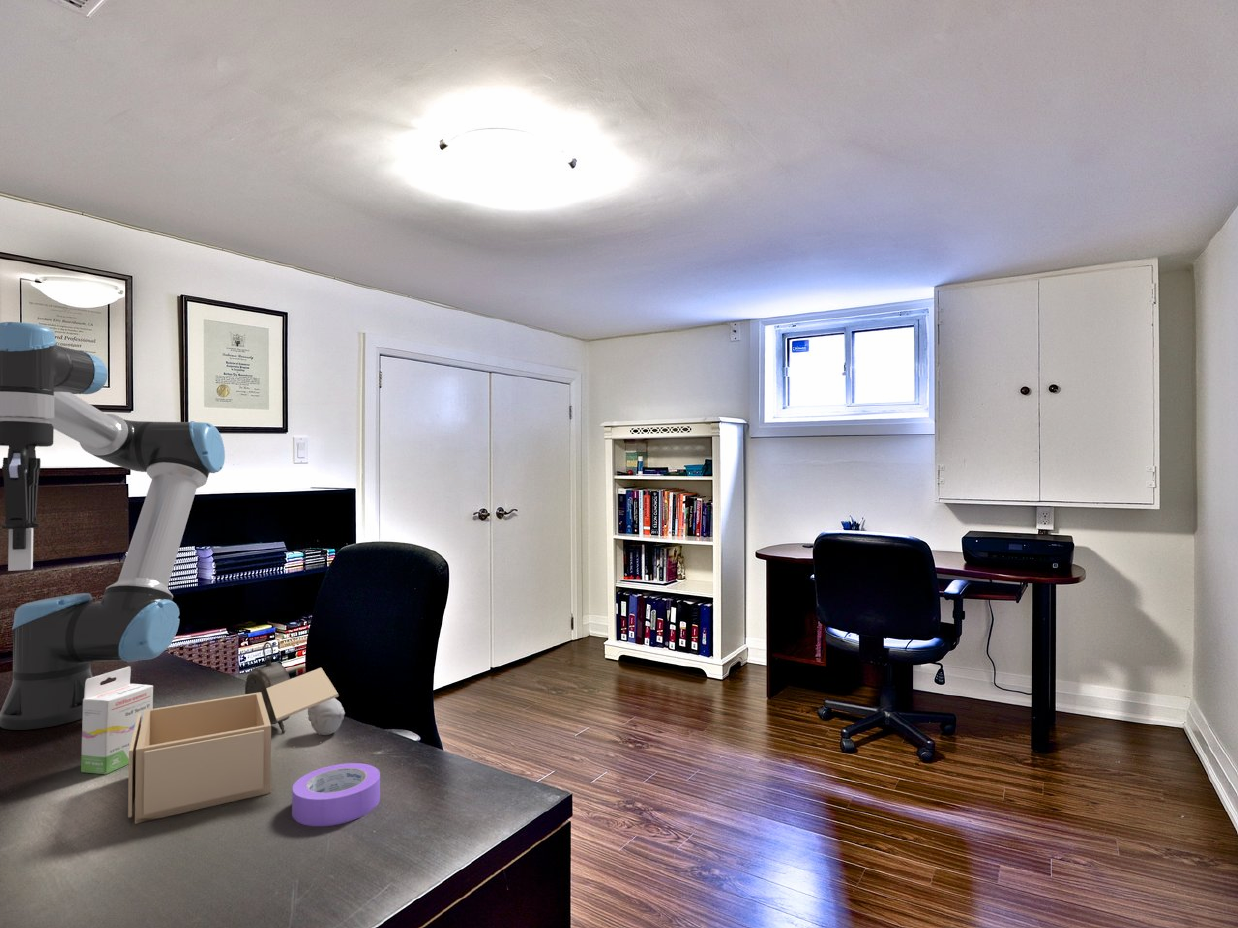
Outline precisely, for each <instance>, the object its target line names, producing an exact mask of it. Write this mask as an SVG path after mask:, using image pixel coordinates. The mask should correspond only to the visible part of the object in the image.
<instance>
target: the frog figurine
mask: <svg viewBox="0 0 1238 928" xmlns="http://www.w3.org/2000/svg"><path fill="white" fill-rule="evenodd" d="M345 714H346V712H345V709H344V707H343V705H342V703H341V702H340V701H339V700H338V699H337V697H335V698H333V699H330V700H328V701H325V702H323V703H320V704H318V705H316V706H313V707H311V708H308V709H307V715H308V718H307V719H308V721H309V722H310V725H311V727H312V729H313V730H314V731H315V733H317V734H319V735H321V736H328V735H331V734H333V733H335V732H336V731H338V730H339V729H340V727H341V724H342V722H343V720H344V719H345V718H344V717H345Z"/></svg>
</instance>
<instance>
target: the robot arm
mask: <svg viewBox="0 0 1238 928" xmlns="http://www.w3.org/2000/svg"><path fill="white" fill-rule="evenodd" d="M108 376H109V374H108V368H107V366H106V364H105V363H104V361H103V360H102V359H100V358H99V357H98V356H95V355H94V354H92V353H88V352H87V351H85V350H78V349H73V348H70V347H66V346H60V345H58V344H57V341H56V336H55V332H54V331H53V329H51V328H50V327H48V326H45V325H40V324H37V323H36V324H35V323H28V322H18V321H2V322H0V446H1V447H2V446H3V447H8V450H7V457H3V458H2V466H1V470H2V476H3V490H4V492H3V494H4V511H5V515H4V516H5V521H4V523H5V525H4V524H3V525H2V526H1V529H2V530H8V548H7V549H8V552H7V553H8V555H7V556H8V557H7V562H8V564H7V565H8V566H7V568H8V569H7V571H8V572H9V571H10V572H11V571H13V572H14V571H31V570H33V569H34V566H33V565H34V564H33V563H34V528H39V527H40V522H37V508H38V507H37V505H38V491H39V475H40V471H41V462H42V461H41V458H40V457H37V453H36V447H39V448H40V447H41V448H42V447H43V448H44V447H46V448H47V447H52V446H53V445H54V433H55V432H54V430H56V431H57V432H59V433H61V434H63V435H65V436H66V437H68V438H70V439H73V440H74V441H76V442H78V443H79V445H80V447H81V448H82V450H84V451H85V452H87V453H88V454H90V455H92V456H94V457H96V458H98V459H100V460H102V461H105V462H107V463H109V464H112V465H115V466H118V467H121V468H123V469H125V470H126V469H127V470H131V471H135V472H139V473H146V474H147V476H148V477H149V478H150V479H151V481H150V484H149V487H148V490H147V492H146V496H145V498H144V503H143V505H142V507H141V511H140V514H139V517H138V520H137V523H136V526H135V529H134V531H133V534H132V538H131V541H130V544H129V547H128V550H127V552H126V557H125V559H124V561H123V565H122V568H121V571H120V574H119V577H118V580H117V581H116V582H114V583H113V584H110V585H109V586H107V587H106V588H105V590H104V592H103V596H102V599H101V600H99V601H97V600H96V601H93V597H92V594H91V593H89V592H88V593H87V592H85V593H84V592H82V593H73V594H67V595H60V596H55V597H50V598H43V599H39V600H35V601H31V602H27V603H24V604H21V605H19V606H18V607H17V608H16V610H15V612H14V618H13V625H12V627H11V628H12V629H11V631H12V683H11V685H10V688H9V691H8V694H7V695H6V698H5V700H4V703H3V705H2V707H1V710H0V728H2V729H4V730H12V731H25V730H26V731H27V730H36V729H43V728H50V727H54V726H55V727H56V726H59V725H64V724H68V723H72V722H75V721H78V720H83V699H84V691H85V681H86V680H87V679H88V678H92V677H94V676H93V674H92V671H91V663H93V662H94V663H95V662H128V663H132V662H137V661H148V660H153V659H155V658H157V657H160V655H161V654H162V653H164V652H165V651H167V650H168V648H169V647H170V646H171V645H172V643H173V641H174V639H175V637H176V634H178V633H177V632H178V629H179V626H180V618H179V616H180V608H179V605H177V603H175V602H174V601H173V598H174V595H173V593H171V591H170V590H169V589H168V587H169V583H170V580H171V577H172V574H173V570H174V566H175V563H176V559H177V557H178V553H179V550H180V546H181V543H182V540H183V535H184V532H185V529H186V525H187V522H188V519H189V515H190V511H191V509H192V505H193V502H194V498H195V495H196V493H197V489H198V488H201V487H204V486H205V485H206V484H207V480H208V477H209V475H210V474H216V473H218V472H220V471H221V470H222V469H223V468H224V465H225V459H226V453H225V452H226V451H225V446H224V441H223V440H224V439H223V437H222V435H221V433H220V432H219V430H218V428H217V427H216V426H215V425H213V424H211V423H209V422H202V421H201V422H200V421H199V422H198V421H194V420H193V421H192V420H190V421H189V422H188V421H147V420H146V421H144V420H143V421H142V420H141V421H140V420H128V419H125V418H124V419H123V417H120V416H118V415H116V414H113V413H105V412H103V411H101V410H100V409H99V408H96V407H95V406H93V405H92V404H90V403H88V402H86V401H85V400H84V399H82V398H80V397H78V395H91V394H94V393H97V392H99V391H100V390H102V389H103V387H104V386H105V385H106V383H107V380H108Z"/></svg>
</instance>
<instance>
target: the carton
mask: <svg viewBox="0 0 1238 928" xmlns="http://www.w3.org/2000/svg"><path fill="white" fill-rule="evenodd" d="M271 747H272V725H271V724H270V720H269V717H268V714H267V710H266V707H265V704H264V700H263V697H262V693H261V692H259V693H252V694H246V695H245V694H241V695H233V696H227V697H221V698H214V699H207V700H201V701H194V702H188V703H183V704H182V703H181V704H174V705H169V706H163V707H162V706H161V707H156V708H153V709H148V710H144V715H143V719H142V724H141V713H138V716H137V720H136V724H135V728H134V732H133V736H132V741H131V745H130V749H129V764H128V786H127V787H128V793H127V795H128V796H127V799H128V802H127V803H128V804H127V817H128V818H131V817H133V812H134V824H140V823H143V822H145V823H146V822H149V821H152V820H157V819H162V818H166V817H171V816H176V815H179V814H183V813H189V812H192V811H193V812H194V811H197V810H201V809H206V808H211V807H215V806H218V805H219V806H220V805H223V804H228V803H232V802H236V801H242V800H245V799H249V798H250V799H251V798H255V797H258V796H262V795H267V794H271V782H272V781H271V778H272V777H271V775H272V774H271V773H272V771H271V770H272V769H271V766H272V764H271V763H272V762H271V759H272V748H271Z"/></svg>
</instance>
